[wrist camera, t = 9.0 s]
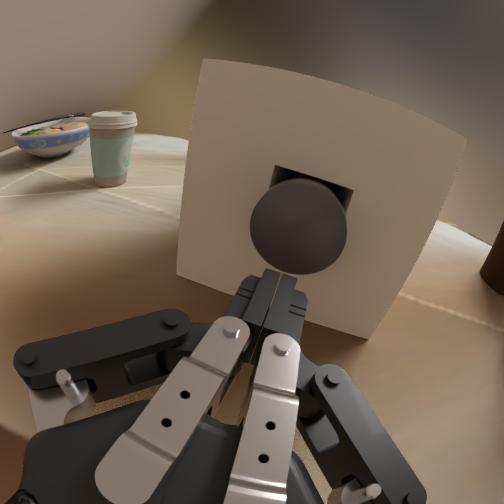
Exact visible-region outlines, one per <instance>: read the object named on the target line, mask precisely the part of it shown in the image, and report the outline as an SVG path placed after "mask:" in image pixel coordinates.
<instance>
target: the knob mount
mask: <svg viewBox="0 0 504 504" xmlns="http://www.w3.org/2000/svg"><path fill="white" fill-rule="evenodd" d="M466 142H467V139H466V138H464V137H462V136H461V135H459V134H457V133H455V132H453V131H452V130H450V129H448V128H446V127H444V126H442V125H440V124H438V123H436V122H434V121H432V120H430V119H428V118H426V117H424V116H422V115H420V114H417V113H415V112H413V111H411V110H408V109H406V108H404V107H401V106H399V105H397V104H394V103H392V102H389V101H387V100H384V99H381V98H379V97H376V96H374V95H371V94H367V93H365V92H362V91H359V90H356V89H353V88H350V87H347V86H344V85H341V84H337V83H334V82H331V81H327V80H324V79H320V78H316V77H312V76H308V75H304V74H300V73H295V72H291V71H286V70H282V69H276V68H271V67H266V66H260V65H254V64H247V63H240V62H233V61H224V60H214V59H203V62H202V67H201V73H200V77H199V83H198V89H197V94H196V100H195V105H194V111H193V117H192V124H191V130H190V137H189V144H188V151H187V159H186V167H185V175H184V184H183V194H182V203H181V214H180V226H179V239H178V253H177V271H176V275H178V276H181V277H184V278H186V279H189V280H192V281H194V282H197V283H200V284H202V285H205V286H208V287H210V288H213V289H216V290H218V291H221V292H224V293H227V294H229V295H232V296H234V295H235V294H236V292H237V290H238V288H239V286H240V284H241V282H242V281H243V279H245V278H246V277H248V276H249V275H254V276H257V277H260V278H261V277H262V275H263V272H264V270H265V268H268V269H271V270H274V271H277V272H280V273H281V274H280V277H279V280H278V283H277V286H276V289H275V292H274V295H275V293H276V290H277V287H278V284H279V281H280V278H281V276H282V273H283V274H286V275H289V276H292V277H295V278H297V282H296V286H295V289H296V290H299V291H302V292H305V294H306V297H307V300H308V304H307V309H306V314H305V319H304V320H306V321H309V322H312V323H315V324H319V325H322V326H325V327H328V328H332V329H335V330H338V331H341V332H345V333H348V334H351V335H355V336H358V337H362V338H365V339H369V338H370V337H371V335H372V334H373V332H374V331H375V329H376V328H377V326H378V325H379V323H380V322H381V320H382V319H383V317H384V316H385V314H386V313H387V311H388V309H389V308H390V306H391V305H392V303H393V301H394V300H395V298H396V296H397V295H398V293H399V291H400V290H401V288H402V286H403V284H404V283H405V281H406V279H407V277H408V276H409V274H410V272H411V270H412V268H413V266H414V265H415V263H416V261H417V259H418V257H419V255H420V253H421V251H422V249H423V247H424V245H425V243H426V241H427V239H428V237H429V235H430V233H431V231H432V229H433V227H434V225H435V222H436V220H437V218H438V216H439V214H440V211H441V209H442V206H443V204H444V202H445V200H446V197H447V195H448V192H449V190H450V187H451V185H452V182H453V180H454V177H455V174H456V171H457V169H458V166H459V163H460V160H461V157H462V154H463V151H464V148H465V145H466ZM298 172H301V173H304V174H307V175H310V176H314V177H317V178H320V179H323V180H326V181H329V182H331V183H332V186H333V190H334V194H335V195H336V197H337V198H338V199H339V201H340V202H341V204H342V206H343V209H344V211H345V215H346V222H347V239H346V244H345V247H344V249H343V251H342V253H341V255H340V256H339V258H338V259H337V260H336V261H335V262H334V263H333V264H332V265H330V266H329V267H328V268H326V269H324V270H322V271H320V272H317V273H313V274H307V275H296V274H290V273H286V272H283V271H281V270H278V269H277V268H275V267H273V266H271V265H270V264H269V263H267V262H266V261H265V260H264V259H263V258H262V257H261V256H260V254H259V253H258V252H257V250H256V248H255V247H254V244H253V242H252V239H251V235H250V218H251V215H252V212H253V209H254V207H255V206H256V204H257V203H258V201H259V200H260V199H261V198H262V196H263V195H264V194H265V193H266V192H267V191H268V190H269V189H270V188H271V187H273V186H274V185H276V184H278V183H280V182H282V181H286V180H290V179H291V178H292V177H293V176H294V175H295V174H296V173H298ZM274 295H273V298H274ZM273 298H272V301H273ZM272 301H271V304H272ZM271 304H270V307H271ZM270 307H269V308H270Z"/></svg>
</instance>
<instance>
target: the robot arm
mask: <svg viewBox="0 0 504 504" xmlns="http://www.w3.org/2000/svg"><path fill="white" fill-rule="evenodd" d="M280 274H281V273H280V272H277V271H274V270H271V269H268V268H265V270H264V272H263V275H262V277H261V278H260V277H257V276H254V275H249V276H248V277H246V278H245V279H243V281H242V282H241V284H240V286H239V288H238V290H237V292H236V294H235V295H234V297H233V299H232V301H231V303H230V305H229V306H228V308H227V310H226V312H225V314H224V315H223V317H221V318H219V319H217V320H216V321H215V322H214V323H211V324H199V323H191V322H190V319H189V317H188V316H187V315H186V314H185V313H184V312H182V311H180V310H177V309H165V310H161V311H157V312H154V313H150V314H146V315H142V316H139V317H135V318H131V319H127V320H123V321H120V322H116V323H112V324H108V325H104V326H100V327H96V328H92V329H88V330H84V331H80V332H76V333H72V334H68V335H63V336H59V337H55V338H51V339H46V340H42V341H37V342H33V343H29V344H25V345H23V346H21V347H20V348H19V349H18V350H17V351H16V353H15V355H14V360H13V363H14V367H15V369H16V371H17V372H18V374H19V375H20V377H21V378H22V379H23V382H24V383H25V385H26V386H27V388H28V393H29V398H30V403H31V408H32V413H33V417H34V421H35V425H36V429H37V434H35V435H34V436H33V437H32V438H31V439H30V440H29V442H28V444H27V446H26V449H25V452H24V462H23V474H22V479H21V483H20V486H19V488H18V490H17V492H16V493H15V494H14V495H13V496H12V497H11V498H10V499H9V500H8V501H7V502H6V503H4V504H324V502H323V500H322V498H321V497H320V495H319V493H318V491H317V489H316V487H315V485H314V483H313V481H312V479H311V477H310V475H309V473H308V471H307V469H306V467H305V465H304V463H303V462H302V460H301V459H300V458H299V456H298V455H297V454H296V453H295V452H294V451H293V450H292V447H293V441H294V434H295V427H296V426H297V428H298V430H299V431H300V433H301V435H302V437H303V439H304V441H305V442H306V444H307V446H308V448H309V450H310V451H311V453H312V455H313V457H314V459H315V460H316V462H317V464H318V466H319V467H320V469H321V471H322V473H323V474H324V476H325V478H326V480H327V481H328V483H329V485H330V486H331V488H332V491H331V493H330V494H329V496H328V500H327V504H426V499H427V495H426V491H425V489H424V487H423V485H422V484H421V482H420V481H419V479H418V478H417V476H416V475H415V473H414V472H413V470H412V469H411V467H410V466H409V464H408V463H407V461H406V460H405V458H404V457H403V455H402V454H401V452H400V451H399V449H398V448H397V446H396V445H395V443H394V442H393V440H392V439H391V437H390V436H389V434H388V433H387V431H386V430H385V428H384V427H383V425H382V424H381V422H380V421H379V419H378V418H377V416H376V415H375V413H374V412H373V410H372V409H371V407H370V406H369V405H368V403H367V402H366V400H365V399H364V397H363V396H362V394H361V393H360V391H359V390H358V388H357V387H356V385H355V384H354V382H353V381H352V379H351V378H350V377H349V375H348V374H347V372H346V371H345V370H344V369H342V368H341V367H339V366H337V365H334V364H324V365H322V366H320V367H319V366H317V365H316V364H314V363H313V362H311V361H310V360H308V359H307V358H306V357H305V356H304V355H303V353H302V351H301V349H300V338H301V334H302V329H303V324H304V319H305V314H306V309H307V304H308V300H307V297H306V294H305V292H302V291H299V290H296V289H295V286H296V282H297V278H295V277H292V276H289V275H286V274H283V273H282V276H281V278H280V281H279V284H278V287H277V290H276V293H275V295H274V292H275V289H276V286H277V283H278V280H279V277H280ZM273 295H274V298H273ZM272 298H273V301H272ZM271 301H272V304H271ZM270 304H271V307H270ZM269 307H270V309H269ZM268 310H269V312H268ZM267 313H268V315H267ZM266 315H267V318H266ZM265 318H266V320H265ZM264 321H265V323H264ZM263 323H264V326H263ZM262 326H263V329H262ZM261 329H262V332H261ZM260 332H261V334H260ZM259 334H260V337H259ZM258 337H259V340H258ZM257 340H258V343H257V346H256V349H255V351H254V354H253V357H252V360H251V362H250V364H252V365H254V368H253V371H252V374H251V376H250V379H249V382H248V385H247V389H246V393H245V396H244V400H243V404H242V407H241V411H240V414H239V418H238V421H237V424H236V425H227V424H223V423H221V422H219V421H218V420H216V419H215V417H216V414H217V412H218V410H219V408H220V406H221V404H222V403H223V401H224V399H225V397H226V395H227V393H228V391H229V390H230V388H231V386H232V384H233V382H234V380H235V378H236V376H237V374H238V373H239V371H240V369H241V367H242V365H243V362H246V363H249V361H250V358H251V355H252V353H253V350H254V347H255V345H256V342H257ZM163 382H164V383H163ZM160 383H163V385H162V386H161V387H160V389H159V390H158V391H157V393H156V394H155V395H154V397H153V398H152V400H141V401H137V402H133V403H130V404H128V405H125V406H122V407H119V408H116V409H113V410H110V411H107V412H104V413H101V414H98V415H95V416H92V417H88V416H90V415H91V414H92V412H93V411H94V409H95V404H96V403H99V402H103V401H106V400H110V399H113V398H116V397H120V396H123V395H126V394H130V393H133V392H136V391H139V390H142V389H145V388H148V387H151V386H154V385H157V384H160ZM86 417H88V418H86ZM84 418H85V419H84Z"/></svg>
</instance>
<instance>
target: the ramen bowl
mask: <svg viewBox="0 0 504 504" xmlns="http://www.w3.org/2000/svg"><path fill="white" fill-rule="evenodd" d="M82 115H85V113H76V114H71V115H66V116H61V117H57V118H53V119H49V120H45V121H41V122H37V123H33V124H30V125H26V126H23V127H19V128H16V129H13V130H10V131H14V130H15V131H14V132H12V136H13V138H14V140H15V142H16V143H17V145H18V146H19V148H20V149H21V150H22V151H24V152H26V153H28V154H32V155H36V156H40V157H42V158H54V157H58V156H61V155H64V154H66V153H67V152H68V151H70V150H72V149H74V148H75V147H77V146H79V145H81V144H82V143H83V142H84V141H85V140H86V139H87V138H88V137H89V135H90V131H89V127H88V125H89V121H90V118H85V117H76V116H82ZM70 117H72V118H70ZM10 131H7V132H10ZM7 132H4V133H7Z"/></svg>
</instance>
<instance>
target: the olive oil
mask: <svg viewBox="0 0 504 504" xmlns="http://www.w3.org/2000/svg"><path fill="white" fill-rule="evenodd" d="M480 273H481V275H482V277H483V278H484V280H485V281H486V282H487V283H488V284H489V285H490V286H491V287H492V288H493V289H494V290H496V291H497V292H498V293H500V294H502V295H504V221H503V223H502V226H501V228H500V231H499V233H498V236H497V238H496V240H495V242H494V244H493V246H492V248H491V251H490V253H489V254H488V256H487V258H486V260H485V262H484V264H483V266H482V268H481V270H480Z"/></svg>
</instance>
